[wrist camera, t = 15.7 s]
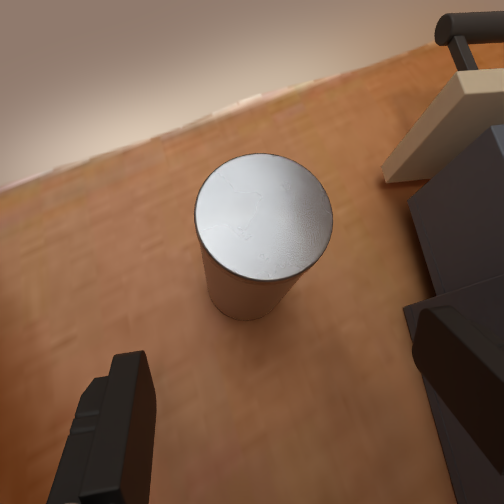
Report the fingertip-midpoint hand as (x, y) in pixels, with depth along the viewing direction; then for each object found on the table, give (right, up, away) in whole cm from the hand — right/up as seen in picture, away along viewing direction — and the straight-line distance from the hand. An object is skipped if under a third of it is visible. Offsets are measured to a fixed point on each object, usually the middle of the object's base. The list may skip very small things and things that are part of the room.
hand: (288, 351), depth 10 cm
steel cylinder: (-1, +1, +10) cm, 10 cm away
